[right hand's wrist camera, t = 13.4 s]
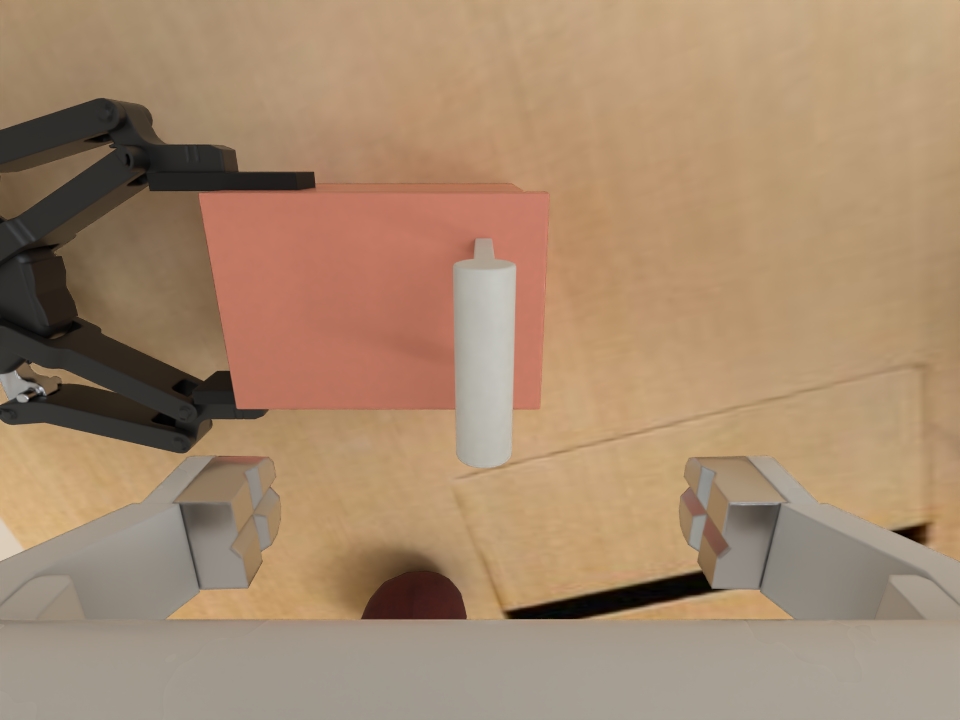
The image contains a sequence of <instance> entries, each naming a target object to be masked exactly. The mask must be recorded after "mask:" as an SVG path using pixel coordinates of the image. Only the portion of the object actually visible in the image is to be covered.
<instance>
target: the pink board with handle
mask: <svg viewBox="0 0 960 720" xmlns="http://www.w3.org/2000/svg"><path fill="white" fill-rule="evenodd" d="M198 196H199V202H200V207H201V213H202V218H203V224H204V229H205V235H206V240H207V246H208V252H209V257H210V263H211V268H212V274H213V279H214V285H215V290H216V296H217V302H218V307H219V313H220V318H221V324H222V329H223V335H224V340H225V346H226V352H227V357H228V363H229V368H230V374H231V379H232V385H233V391H234V396H235V402H236V407H237V409H456V454H457V457H458V458H459V460H460V461H461V462H463V463H464V464H466V465H469V466H472V467H477V468H492V467H496V466H500V465H502V464H504V463H506V462H507V461H508V460H509V459H510V457H511V454H512V421H513V409H540V399H541V376H542V354H543V331H544V308H545V286H546V263H547V241H548V218H549V196H550V195H549V193H547V192H359V191H212V192H203V193H199V194H198Z"/></svg>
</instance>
